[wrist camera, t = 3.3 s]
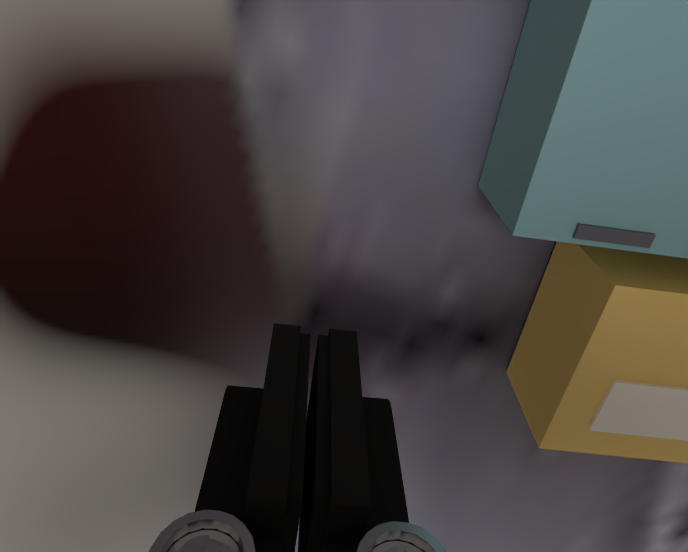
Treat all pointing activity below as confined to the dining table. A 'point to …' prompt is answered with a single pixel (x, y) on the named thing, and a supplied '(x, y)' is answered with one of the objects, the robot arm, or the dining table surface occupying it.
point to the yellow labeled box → (607, 355)
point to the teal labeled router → (596, 127)
